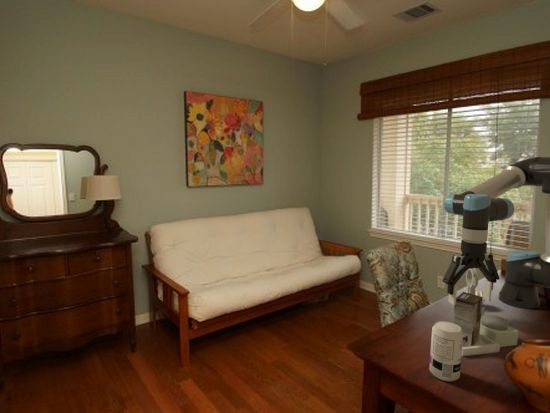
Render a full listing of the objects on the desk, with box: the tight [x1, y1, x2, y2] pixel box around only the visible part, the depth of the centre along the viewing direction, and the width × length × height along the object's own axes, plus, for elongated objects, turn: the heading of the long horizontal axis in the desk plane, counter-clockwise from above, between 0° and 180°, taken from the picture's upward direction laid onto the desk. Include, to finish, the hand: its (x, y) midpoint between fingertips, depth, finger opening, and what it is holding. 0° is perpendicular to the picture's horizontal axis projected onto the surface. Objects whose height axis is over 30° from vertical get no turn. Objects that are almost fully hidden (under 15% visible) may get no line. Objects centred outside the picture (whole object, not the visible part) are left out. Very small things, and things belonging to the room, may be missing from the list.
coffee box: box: [452, 291, 483, 347], centre depth 119 cm, size 9×6×16 cm
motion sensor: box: [465, 287, 486, 305], centre depth 150 cm, size 8×8×8 cm
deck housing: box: [462, 314, 519, 357], centre depth 121 cm, size 24×14×7 cm, turn 101°
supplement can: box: [429, 320, 463, 382], centre depth 102 cm, size 8×8×15 cm
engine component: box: [465, 268, 486, 317], centre depth 139 cm, size 11×20×10 cm
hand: (469, 301), depth 119 cm, fingers open, 13 cm apart
